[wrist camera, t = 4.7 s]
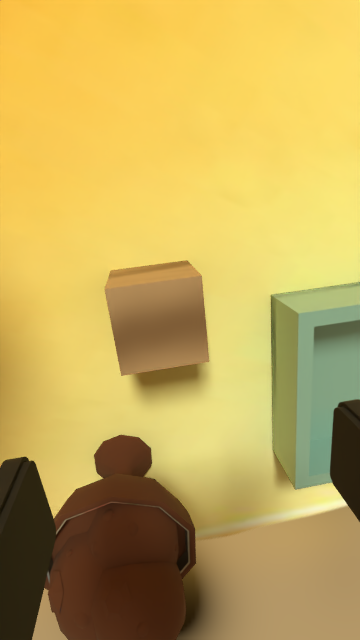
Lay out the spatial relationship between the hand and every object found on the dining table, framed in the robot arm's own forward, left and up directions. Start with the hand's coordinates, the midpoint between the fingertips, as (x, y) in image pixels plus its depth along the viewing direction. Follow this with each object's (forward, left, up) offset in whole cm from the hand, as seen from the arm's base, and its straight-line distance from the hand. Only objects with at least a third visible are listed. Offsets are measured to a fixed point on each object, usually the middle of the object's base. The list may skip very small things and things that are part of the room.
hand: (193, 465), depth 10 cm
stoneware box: (+9, +18, -18) cm, 27 cm away
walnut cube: (0, 0, -18) cm, 18 cm away
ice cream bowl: (+15, -5, -18) cm, 24 cm away
